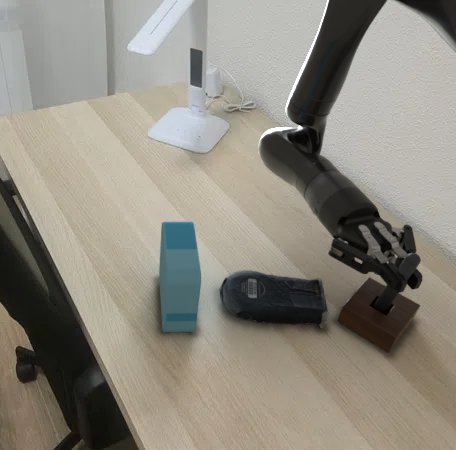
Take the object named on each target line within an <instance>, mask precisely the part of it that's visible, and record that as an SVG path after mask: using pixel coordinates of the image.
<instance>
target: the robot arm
mask: <svg viewBox="0 0 456 450" xmlns="http://www.w3.org/2000/svg"><path fill="white" fill-rule="evenodd" d="M392 1H393V2H395V3H397V4H399V5H400V6H402V7H404V8H406V9H408V10H409V11H411V12H413V13H414V14H416V15H418V16H419V17H420V18H422V19H423V20H424V21H425V22H426V23H427V24H428V25H430V26H431V28H432V29H433V30H434V31H435V32H436V33H437V34H438V35H439V37H440V38H441V39H442V41H444V42H445V43H446V44H447V46H449V48H450V49H452V51H454V53H456V0H392ZM387 2H388V0H327V2H326V6H325V9H324V12H323V16H322V19H321V22H320V25H319V28H318V31H317V33H316V36H315V38H314V41H313V43H312V45H311V48H310V49H309V52H308V54H307V56H306V59H305V61H304V63H303V65H302V66H301V69H300V71H299V73H298V76H297V78H296V80H295V83H294V85H293V87H292V90H291V92H290V94H289V96H288V100H287V102H286V105H285V114H286V116H287V118H288V119H289V120H290V121H291V122H292V123H293V124H295V125H297V126H298V127H275V128H274V127H273V128H270V129H267V130H266V131H265V132H264V133H263V134H262V135H261V137H260V138H259V141H258V155H259V158H260V160H261V162H262V164H263V166H264V167H265V168H266V169H267V170H268V171H270V173H272V174H273V175H275V176H276V177H278V178H279V179H281V180H282V181H283V182H285V183H286V184H289V185H290V186H292V187H293V188H294V189H296V191H297V192H298V193H299V195H300V196H301V197H302V198H303V200H304V201H305V203H306V204H307V205H308V207H309V209H310V210H311V212H312V214H314V216H315V217H316V218H317V220H318V221H319V222H320V223H321V224H322V225H323V227H324V228H325V230H327V232H328V233H329V235H330V236H331V237H332V240H331V244H330V247H329V250H328V253H327V254H328V256H329V257H331V258H332V259H335V260H337V261H339V263H342V264H344V265H346V266H347V267H349V268H351V269H353V270H355V271H356V272H358V273H360V274H362V275H368V274H369V273H373V274H375V275H376V276H379V278H381V279H382V281H383V282H385V284H386V286H387V285H388V286H389V288H391V289H392V290H395V291H396V292H397V293H399V294H402V293H404V291H405V290H406V288H407V286H408V287H409V288H410V289H411V290H413V291H414V290H417V289H419V288H420V287H421V284H422V283H423V277H424V276H423V274H422V272H420V270H419V269H418V268H416V269H415V271H414V272H413V274H412V275H411V276H410V278H409V279H408V281H407V280H406V279H405V278H404V277H403V276H402V274H400V273H399V271H398V270H397V269H398V268H399V266H400V265H401V263H402V262H403V260H404V259H405V257H406V256H407V255H408V254H409V253H416V254H417V245H416V240H415V236H414V230H413V227H412V226H411V225H409V224H404V225H403V226H402V228H401V227H394V226H392V224H391V223H390V222H389V221H387V220H385V219H383V218H382V217H381V214H380V212H379V209H378V207H377V205H376V204H375V203H374V202H372V200H371V199H370V198H369V197H368V196H367V195H366V193H364V192H363V191H362V189H360V188H359V187H358V186H357V185H356V184H355V182H353V180H351V179H350V178H349V177H348V176H346V175H345V174H343V172H341V170H340V169H339V168H338V167H337V166H336V165H335V164H334V163H333V162H332V160H330V159H329V158H328V157H326V156H325V155H323V154H322V150H323V145H324V138H325V134H326V128H327V123H328V118H329V115H330V114H331V112H332V110H333V108H334V106H335V104H336V102H337V100H338V98H339V95H340V94H341V91H342V89H343V87H344V85H345V82H346V80H347V77H348V75H349V72H350V70H351V66H352V64H353V62H354V58H355V56H356V53H357V51H358V49H359V46H360V45H361V42H362V40H363V39H364V37H365V35H366V33H367V32H368V30H369V28H370V27H371V25H372V23H373V22H374V20H376V17H377V16H378V14H380V12H381V10H382V9H383V7H384V6H385V5H386V3H387ZM357 260H359V261H361V262H359V261H357Z"/></svg>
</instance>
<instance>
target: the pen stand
mask: <svg viewBox="0 0 456 450" xmlns="http://www.w3.org/2000/svg"><path fill="white" fill-rule="evenodd" d="M386 286H387V285H384V284H383V283H381V282H379V281H377V280H375V279H373V278H372V277H369V276H368V277H367V278H366V279H365V280H364V281H363V283H362V284H360V286H359V287H357V290H355V292H354V293H352V294H351V296H350V297H349V298H348V299H347V300H346V302H345V303H344V304H343V305H342V306H341V309H340V312H339V315H338V317H337V320H336V322H337V323H339V324H341V325H342V326H344V327H345V328H346V329H349V330H350V331H352V332H353V333H355V334H357V335H359V336H360V337H361V338H364V339H365V340H367V341H368V342H370V343H371V344H373V345H375V346H377V347H378V348H379V349H381V350H383V351H385V352H387V353H390V351H391V350H392V349H393V348H394V347H395V345H396V344H397V342H398V341H399V340H400V338H401V337H402V335H403V334H404V333H405V331H406V330H407V329H408V327H409V326H410V324H411V323H412V322H413V321H414V318H415V316H416V315H417V313H418V311H419V309H420V307H421V305H420V304H419V303H417V302H415V301H414V300H412V299H410V298H408V297H406V296H404V295H402V293H398V295H397V296H396V298H395V299H394V301H393V302H392V303H391V305H390V306H389V308H388V309H387V311H386V312H385V313H384V314H383V313H381V312H379V311H377V310H376V309H374V308H373V306H374V304H375V302H376V301H377V299H378V298H379V296H380V295H381V293H382V292H383V290H384V289H385V287H386Z"/></svg>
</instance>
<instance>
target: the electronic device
mask: <svg viewBox="0 0 456 450" xmlns="http://www.w3.org/2000/svg"><path fill="white" fill-rule="evenodd" d="M218 290H219V298H220V302H221V303H222V305H223V306H224V307H225V309H226V310H228V312H230V313H231V314H232V315H233V316H235V317H237V318H240V319H242V320H245V321H246V320H248V321H251V322H256V323H261V324H277V325H278V324H279V325H308V324H310V325H312V324H314V325H317V326H319V327H320V329H324V327H326V326H327V325H328V323H329V320H330V317H329V313H328V306H327V301H326V295H325V289H324V285H323V279H322V277H316V278H312V279H306V278H299V277H298V278H297V277H290V276H289V277H288V276H280V275H274V274H267V273H263V272H260V271H255V270H249V269H247V270H244V269H243V270H242V269H241V270H238V271H235V272H233V273H230V274H229V275H227V276H226V277H225V278H224V280H223V281H222V283H221V286H220V287H219V289H218Z"/></svg>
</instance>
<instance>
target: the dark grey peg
mask: <svg viewBox="0 0 456 450" xmlns="http://www.w3.org/2000/svg"><path fill="white" fill-rule="evenodd" d="M421 259H422V258H421V257H420V255H419V254H418V253H417V252H416V253H409V254H408V255H407V256H406V257H405V259H404V260H403V262H402V263H401V265H400V266H399V268H398V269H397V270H398V271H399V273H400V274H402V276H403V277H404V278H405V279H406V280H407V281H408V279H409V278H410V276H411V275H412V274H413V272H414V271H415V269H418V267H419V265H420V264H421ZM385 286H386V287H385V289H384V290H383V292H382V293H381V295H380V296H379V298H378V299H377V301H376V302H375V304H374V306H373V308H374V309H376V310H377V311H379V312H381V313H383V314H384V313H385V312H386V311H387V309H388V308H389V306H390V305H391V303H392V302H393V301H394V299H395V298H396V296H397V295H398V293H397V292H396V291H395V290H392V289H391V288H389V286H388V285H387V284H386V285H385Z"/></svg>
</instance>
